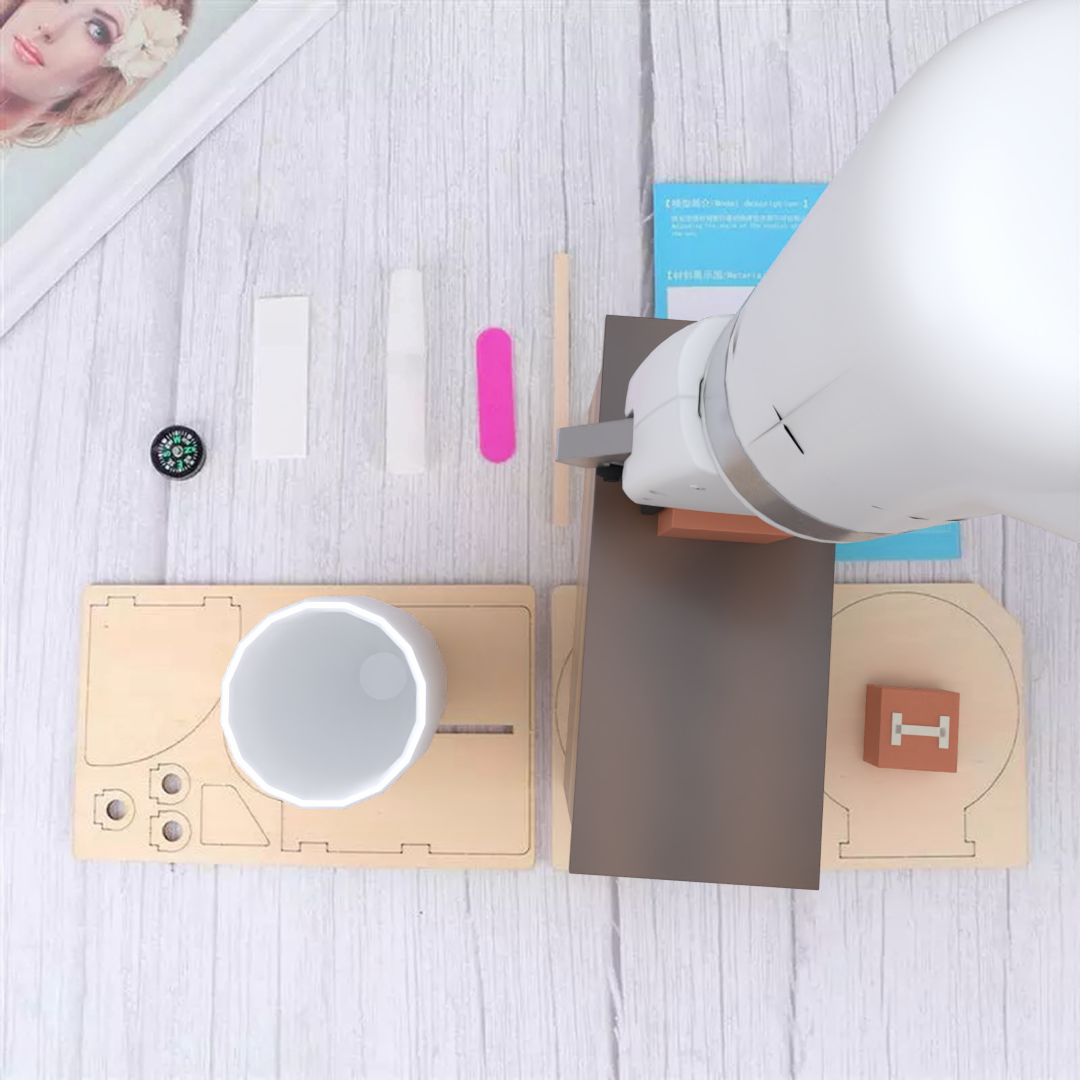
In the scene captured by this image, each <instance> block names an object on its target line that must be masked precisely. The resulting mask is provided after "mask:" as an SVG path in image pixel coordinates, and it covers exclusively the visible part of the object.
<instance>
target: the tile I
mask: <svg viewBox="0 0 1080 1080" xmlns="http://www.w3.org/2000/svg"><path fill="white" fill-rule="evenodd" d="M960 697H961V694H960V692H957V691H951V690H946V689H941V688H925V687H911V686H897V685H882V684H866V689H865V710H864V711H865V713H864V731H863V732H864V733H863V753H862V754H863V756H862V760H863V762H866V763H867V764H870V765H872V766H874V767H876V768H878V769H891V770H907V771H921V772H922V771H923V772H934V773H935V772H937V773H951V774H952V773H953V774H957V772H958V753H959V752H958V751H959V728H960V727H959V726H960V725H959V724H960V723H959V722H960V699H961V698H960Z"/></svg>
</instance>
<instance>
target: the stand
mask: <svg viewBox="0 0 1080 1080" xmlns="http://www.w3.org/2000/svg"><path fill="white" fill-rule="evenodd" d="M601 371H602V366H601V367H600V371H599V373H598V378H597V380H596V384H595V387H594V391H593V394H592V396H591V397H592V398H591V401H590V404H589V408H588V411H587V424H593V423H598V416H599V401H600V386H601ZM583 472H584V474H583V485H582V486H583V488H582V490H583V491H582V499H581V500H582V503H581V515H580V517H581V519H580V533H579V546H578V547H579V548H578V561H577V576H576V578H577V579H576V591H575V593H576V594H575V607H574V619H573V620H574V623H573V635H572V636H573V637H572V650H571V651H572V652H571V665H570V667H571V668H570V680H569V681H570V682H569V694H568V695H569V696H568V711H567V712H568V713H567V724H566V725H567V727H566V739H565V740H566V741H565V755H564V771H563V772H564V773H563V784H562V785H563V791H564V796H565V800H566V801H565V802H566V807H567V812H568V817H569V821H570V825H571V824H572V809H573V794H574V778H575V763H576V748H577V733H578V718H579V703H580V688H581V673H582V658H583V643H584V627H585V612H586V597H587V582H588V567H589V552H590V537H591V522H592V507H593V491H594V476H595V468H584V471H583Z"/></svg>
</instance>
